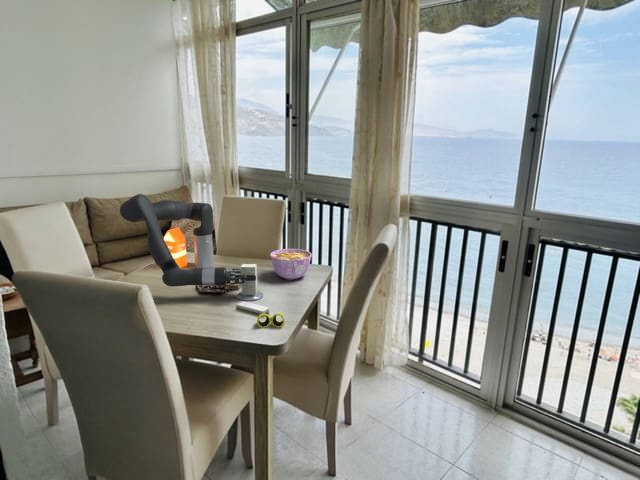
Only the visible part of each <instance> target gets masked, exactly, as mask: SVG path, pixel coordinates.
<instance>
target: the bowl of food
mask: <svg viewBox="0 0 640 480" xmlns="http://www.w3.org/2000/svg"><path fill="white" fill-rule="evenodd" d="M269 255H270V259H271V264H272V268H273V270H274V272H275V274H276V275H278V276H279V277H281V278H283V279H285V280H298V279H299V278H301V277H303V276H304V275H306V273H307V272H308V270H309V268H310V262H311V260H312V259H311V258H312V256H313V255H312V253H311V252H310V251H308V250H305V249H300V248H283V249H277V250H274V251H272V252H271V253H270V254H269Z"/></svg>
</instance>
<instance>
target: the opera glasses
mask: <svg viewBox="0 0 640 480" xmlns="http://www.w3.org/2000/svg"><path fill="white" fill-rule="evenodd" d="M264 316H265V320H264V321H261V320H260V319H261V318H262V317H264ZM277 316H279V317H281V319H282V320H280V321H278V320H277ZM285 323H286V321H285V315H284V314H283V313H280V312H279V313H274V314H273V315H272V316H269V314H266V313H260V314H259V315H258V316H257V320H256V324H257V326H258V327H259V328H261V329H265V328H267V327H269V326H270V324H272V325H273V327H275V328H282V327H284V325H285Z"/></svg>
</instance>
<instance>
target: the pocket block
mask: <svg viewBox="0 0 640 480" xmlns="http://www.w3.org/2000/svg"><path fill="white" fill-rule="evenodd" d="M222 286H225V287H229V288H231V289H232V290H231V291H233V290H234V291H239V290H241V289H242V287H241V284H233V285H230V283H226V285H222Z"/></svg>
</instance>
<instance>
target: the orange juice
mask: <svg viewBox="0 0 640 480" xmlns="http://www.w3.org/2000/svg"><path fill="white" fill-rule="evenodd" d="M163 238H164V240H165V242H166V244H167V246H168V248H169V250H170V252H171V254H172V257H173V258H174V260H175V261H176V263H177V264H178V266H179V267H180V269H182V268H183V267H186V266H188V264H187V262H188V260H187V247H186V237H185V235H184V234H183V232H182V231H181V229H180V228H179V227H175V228H172V229H169V230H167V231H166V233H165V235H164V236H163Z"/></svg>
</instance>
